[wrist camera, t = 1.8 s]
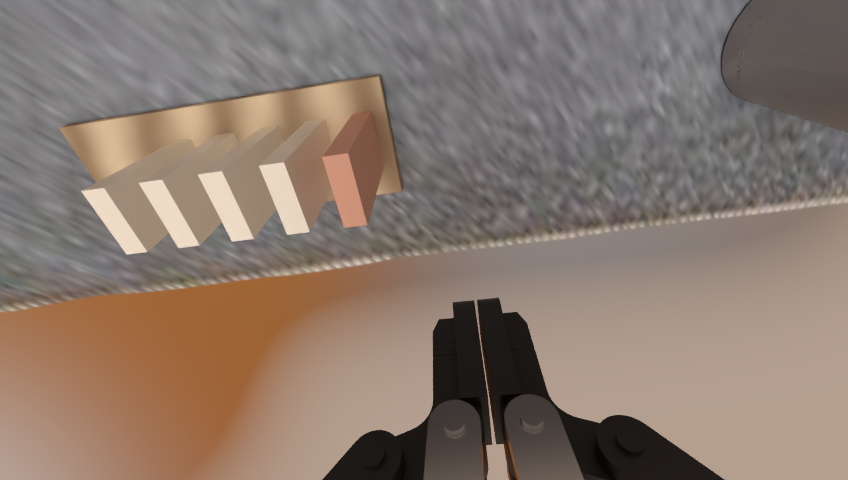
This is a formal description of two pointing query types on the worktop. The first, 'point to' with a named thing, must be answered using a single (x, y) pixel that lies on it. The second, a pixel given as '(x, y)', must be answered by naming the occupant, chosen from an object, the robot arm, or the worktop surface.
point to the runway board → (237, 125)
